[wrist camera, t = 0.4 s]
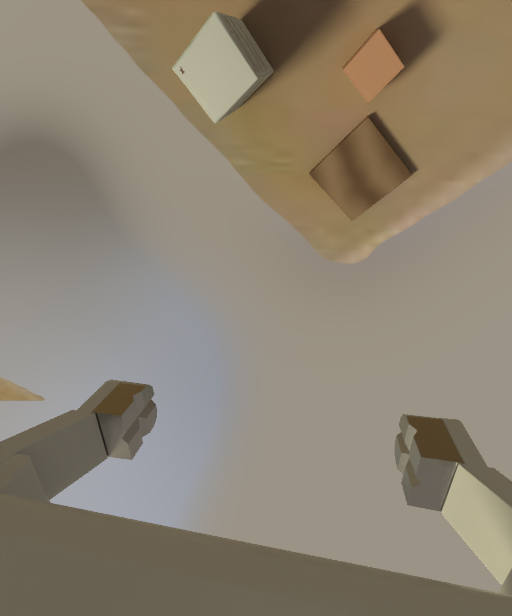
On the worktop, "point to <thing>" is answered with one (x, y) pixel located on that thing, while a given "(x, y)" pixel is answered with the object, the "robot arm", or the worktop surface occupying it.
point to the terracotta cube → (373, 66)
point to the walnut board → (360, 170)
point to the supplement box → (222, 66)
